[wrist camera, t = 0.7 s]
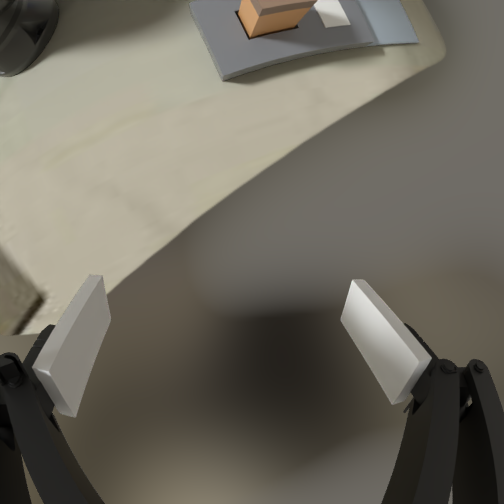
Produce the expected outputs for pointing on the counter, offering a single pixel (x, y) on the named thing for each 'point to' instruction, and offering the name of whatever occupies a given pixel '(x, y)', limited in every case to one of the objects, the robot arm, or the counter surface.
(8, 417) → the robot arm
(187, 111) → the counter surface
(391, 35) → the mat
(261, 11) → the plug
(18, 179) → the counter surface
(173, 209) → the counter surface
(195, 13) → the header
